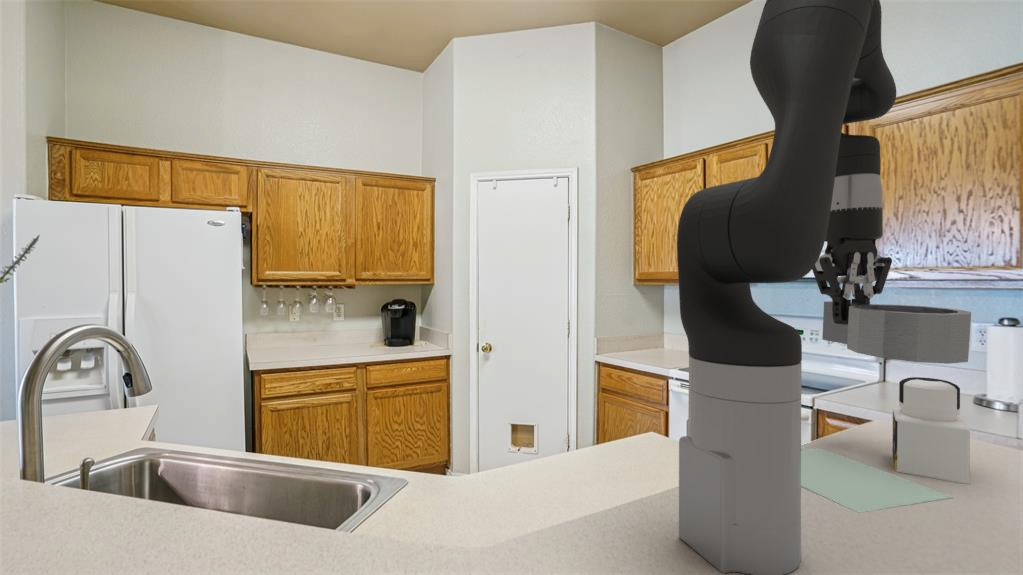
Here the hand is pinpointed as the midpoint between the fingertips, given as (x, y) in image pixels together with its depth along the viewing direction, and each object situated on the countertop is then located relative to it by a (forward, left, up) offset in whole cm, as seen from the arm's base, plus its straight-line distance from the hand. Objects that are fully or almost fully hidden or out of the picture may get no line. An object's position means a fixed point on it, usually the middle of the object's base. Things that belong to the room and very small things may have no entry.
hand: (851, 323), depth 73 cm
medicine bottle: (+1, -10, -19) cm, 21 cm away
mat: (-13, -9, -19) cm, 24 cm away
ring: (0, -8, -3) cm, 8 cm away
